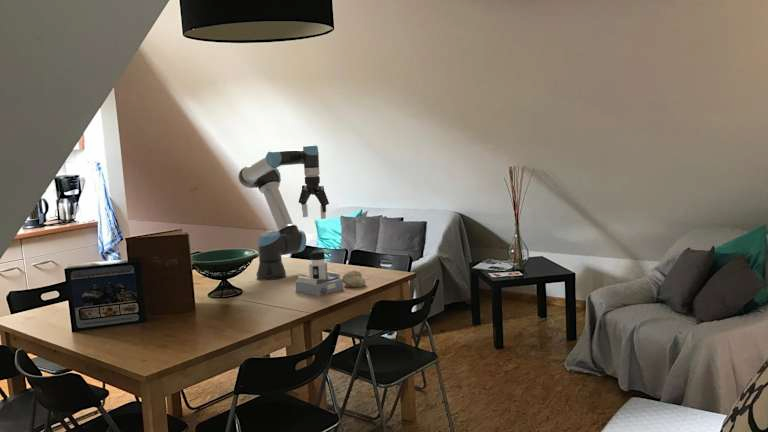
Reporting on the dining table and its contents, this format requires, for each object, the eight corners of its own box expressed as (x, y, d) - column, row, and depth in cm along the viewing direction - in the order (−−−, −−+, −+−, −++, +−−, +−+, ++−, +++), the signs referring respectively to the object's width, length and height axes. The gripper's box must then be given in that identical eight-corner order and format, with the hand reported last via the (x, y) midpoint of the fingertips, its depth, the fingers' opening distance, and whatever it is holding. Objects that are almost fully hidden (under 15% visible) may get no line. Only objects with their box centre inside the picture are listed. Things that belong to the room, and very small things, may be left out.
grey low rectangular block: (295, 291, 321) (295, 276, 320) (320, 284, 333) (319, 270, 332) (320, 296, 310) (319, 280, 309) (344, 289, 321) (344, 274, 320)
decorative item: (335, 279, 325) (344, 267, 332) (341, 294, 329) (350, 281, 336) (355, 278, 319) (364, 266, 326) (362, 293, 322) (371, 280, 330)
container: (326, 279, 317) (324, 252, 315) (309, 280, 317) (308, 253, 315) (327, 276, 325) (326, 249, 323) (311, 276, 325) (310, 250, 323)
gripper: (290, 176, 345) (292, 217, 347) (323, 177, 328) (325, 220, 331) (301, 175, 350) (303, 215, 353) (334, 175, 333) (336, 218, 336)
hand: (314, 217), depth 342 cm, fingers open, 13 cm apart
